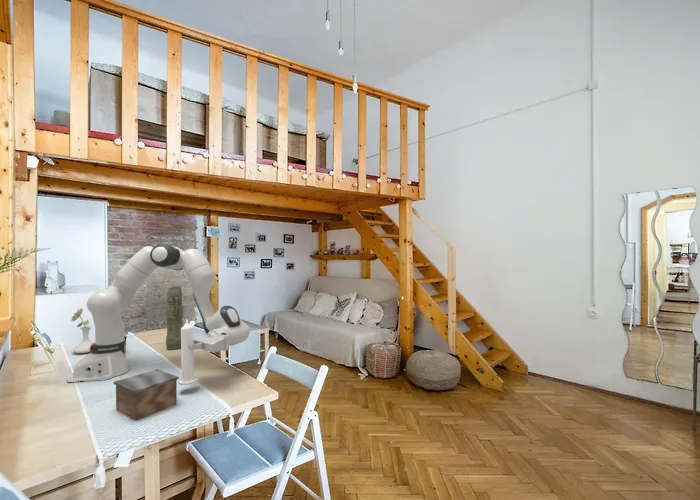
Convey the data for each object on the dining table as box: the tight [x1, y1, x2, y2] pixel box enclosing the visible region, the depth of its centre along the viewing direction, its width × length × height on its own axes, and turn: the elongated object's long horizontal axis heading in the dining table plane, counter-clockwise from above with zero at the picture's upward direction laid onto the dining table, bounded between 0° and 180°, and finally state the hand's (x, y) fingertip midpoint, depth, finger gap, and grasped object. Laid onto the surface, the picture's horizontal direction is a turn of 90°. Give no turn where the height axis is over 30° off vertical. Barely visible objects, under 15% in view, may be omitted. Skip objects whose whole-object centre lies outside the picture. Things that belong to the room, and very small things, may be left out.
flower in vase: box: [70, 308, 94, 354], centre depth 187 cm, size 13×11×25 cm
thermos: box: [165, 286, 184, 351], centre depth 195 cm, size 9×12×35 cm
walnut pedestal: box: [113, 368, 180, 421], centre depth 122 cm, size 15×15×10 cm
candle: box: [177, 319, 199, 386], centre depth 135 cm, size 7×7×25 cm
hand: (185, 347), depth 134 cm, fingers closed on candle, 3 cm apart
